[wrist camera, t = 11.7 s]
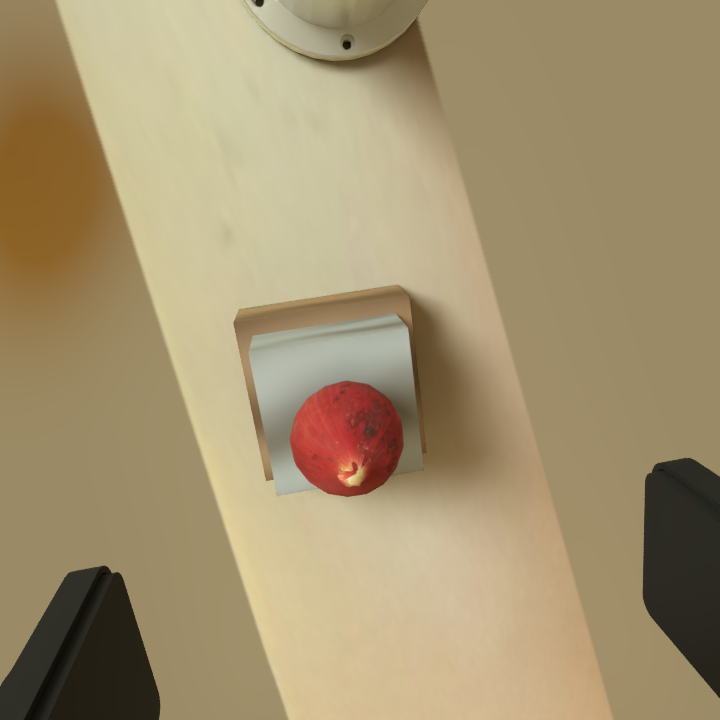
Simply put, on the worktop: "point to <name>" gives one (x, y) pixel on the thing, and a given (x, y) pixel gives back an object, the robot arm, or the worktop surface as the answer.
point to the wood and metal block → (328, 367)
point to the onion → (347, 439)
